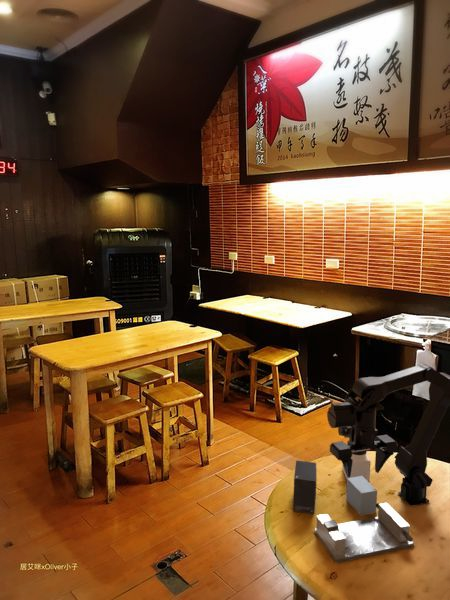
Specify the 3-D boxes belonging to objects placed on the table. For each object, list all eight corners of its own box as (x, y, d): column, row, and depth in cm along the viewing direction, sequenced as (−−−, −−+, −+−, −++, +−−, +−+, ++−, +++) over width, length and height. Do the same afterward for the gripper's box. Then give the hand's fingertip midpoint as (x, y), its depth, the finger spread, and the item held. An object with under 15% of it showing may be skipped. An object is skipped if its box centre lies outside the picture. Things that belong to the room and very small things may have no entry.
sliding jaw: (381, 512, 134) (381, 497, 133) (414, 546, 120) (415, 531, 119) (373, 513, 133) (373, 499, 132) (405, 548, 119) (406, 533, 118)
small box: (315, 514, 135) (316, 480, 133) (292, 512, 136) (293, 478, 134) (316, 493, 145) (317, 461, 143) (294, 491, 146) (295, 459, 144)
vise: (386, 518, 133) (388, 497, 132) (414, 546, 122) (415, 524, 120) (314, 531, 127) (315, 510, 126) (335, 563, 116) (336, 540, 115)
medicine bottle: (369, 481, 151) (371, 446, 149) (347, 481, 151) (348, 446, 149) (363, 469, 158) (365, 436, 156) (342, 469, 158) (343, 436, 156)
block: (361, 497, 143) (362, 475, 142) (376, 512, 135) (377, 490, 134) (346, 499, 142) (347, 478, 141) (360, 515, 134) (361, 493, 133)
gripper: (377, 408, 144) (375, 456, 147) (321, 416, 139) (320, 465, 142) (400, 424, 133) (397, 475, 136) (340, 432, 129) (338, 485, 132)
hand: (362, 474), depth 137 cm, fingers open, 9 cm apart
